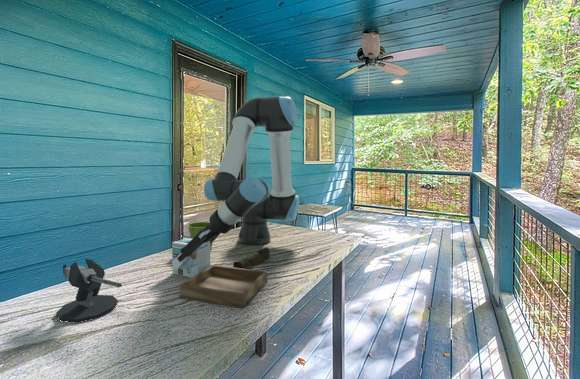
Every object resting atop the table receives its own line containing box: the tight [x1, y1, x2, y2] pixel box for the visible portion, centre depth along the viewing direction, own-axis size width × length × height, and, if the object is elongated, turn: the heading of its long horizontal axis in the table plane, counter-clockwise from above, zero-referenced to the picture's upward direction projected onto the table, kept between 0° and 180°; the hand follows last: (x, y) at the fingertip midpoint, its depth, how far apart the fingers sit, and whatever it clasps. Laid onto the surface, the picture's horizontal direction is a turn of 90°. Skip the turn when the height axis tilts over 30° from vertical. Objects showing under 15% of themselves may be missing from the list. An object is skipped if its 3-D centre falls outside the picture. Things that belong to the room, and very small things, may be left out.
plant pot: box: [186, 221, 213, 252], centre depth 121 cm, size 12×12×11 cm
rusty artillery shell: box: [232, 247, 271, 269], centre depth 107 cm, size 19×4×5 cm, turn 147°
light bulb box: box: [171, 237, 211, 279], centre depth 98 cm, size 11×7×11 cm, turn 68°
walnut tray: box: [179, 264, 268, 309], centre depth 86 cm, size 17×19×4 cm
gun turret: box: [55, 258, 123, 323], centre depth 72 cm, size 13×20×13 cm, turn 68°
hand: (182, 261), depth 99 cm, fingers open, 8 cm apart
